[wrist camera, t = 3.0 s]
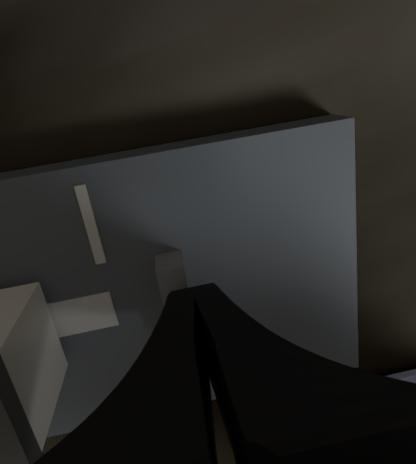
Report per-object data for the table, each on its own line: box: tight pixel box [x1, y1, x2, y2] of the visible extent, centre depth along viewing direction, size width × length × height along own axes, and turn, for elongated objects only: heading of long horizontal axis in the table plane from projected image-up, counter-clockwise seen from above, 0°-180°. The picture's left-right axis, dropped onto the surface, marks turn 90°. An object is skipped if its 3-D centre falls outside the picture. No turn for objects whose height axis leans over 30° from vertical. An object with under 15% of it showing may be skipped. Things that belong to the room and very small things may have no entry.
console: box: [0, 114, 359, 438], centre depth 12 cm, size 9×22×3 cm, turn 99°
